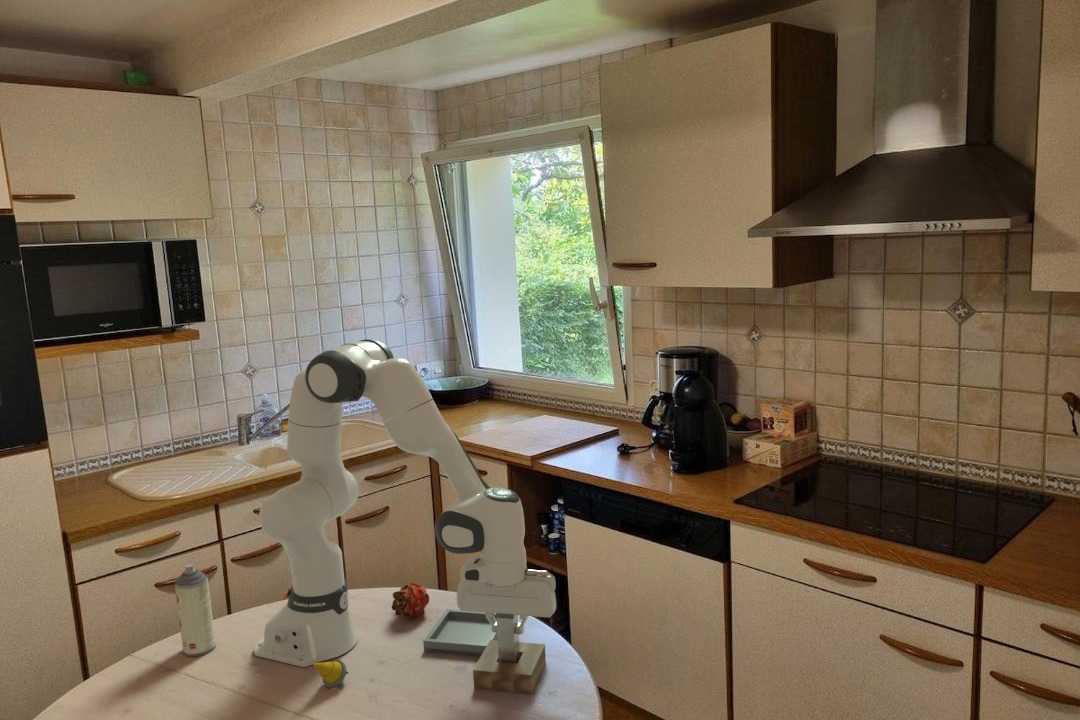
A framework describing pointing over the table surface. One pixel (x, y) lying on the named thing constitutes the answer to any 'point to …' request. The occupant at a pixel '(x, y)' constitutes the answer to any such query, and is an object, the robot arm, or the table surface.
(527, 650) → the hitch block
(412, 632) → the table surface
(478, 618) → the tray
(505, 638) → the metal pin
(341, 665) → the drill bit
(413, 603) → the dragon fruit
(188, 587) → the aerosol can
